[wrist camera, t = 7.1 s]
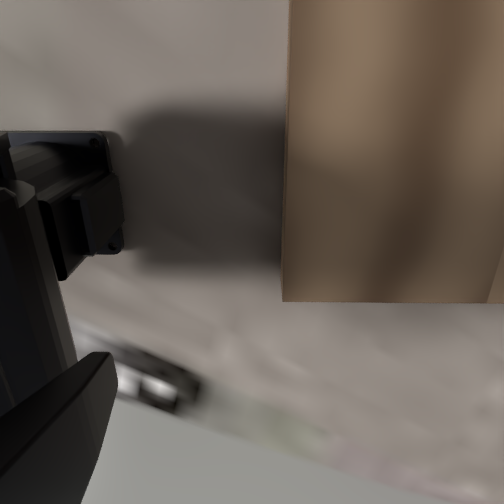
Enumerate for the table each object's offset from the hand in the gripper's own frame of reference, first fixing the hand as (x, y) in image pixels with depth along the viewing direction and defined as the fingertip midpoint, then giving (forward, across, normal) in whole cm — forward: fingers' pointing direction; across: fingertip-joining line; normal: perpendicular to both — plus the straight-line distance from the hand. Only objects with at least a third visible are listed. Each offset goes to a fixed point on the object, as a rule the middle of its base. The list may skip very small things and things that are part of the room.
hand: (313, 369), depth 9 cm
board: (+13, -9, -3) cm, 16 cm away
